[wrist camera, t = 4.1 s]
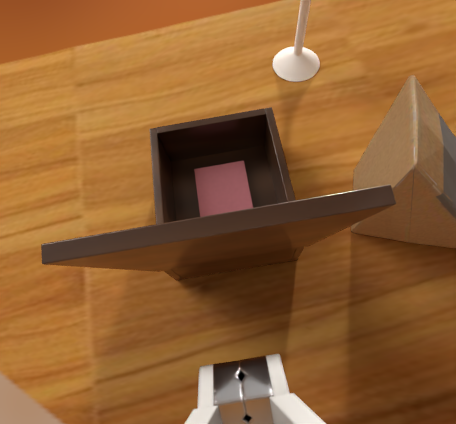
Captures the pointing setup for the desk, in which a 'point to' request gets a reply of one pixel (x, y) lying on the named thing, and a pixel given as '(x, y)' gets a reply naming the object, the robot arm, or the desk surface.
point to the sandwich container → (412, 172)
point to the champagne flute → (297, 53)
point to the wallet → (222, 188)
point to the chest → (216, 155)
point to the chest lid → (221, 234)
